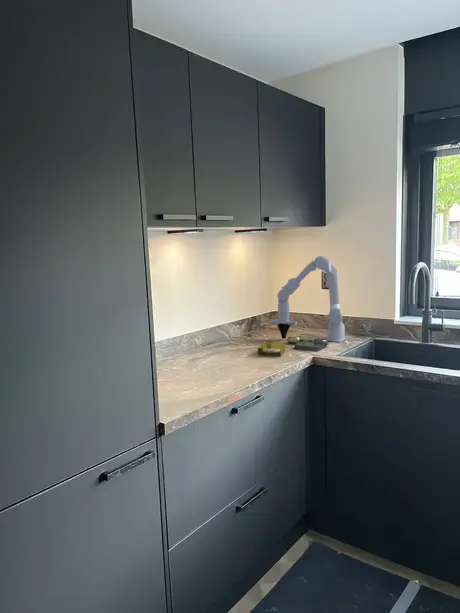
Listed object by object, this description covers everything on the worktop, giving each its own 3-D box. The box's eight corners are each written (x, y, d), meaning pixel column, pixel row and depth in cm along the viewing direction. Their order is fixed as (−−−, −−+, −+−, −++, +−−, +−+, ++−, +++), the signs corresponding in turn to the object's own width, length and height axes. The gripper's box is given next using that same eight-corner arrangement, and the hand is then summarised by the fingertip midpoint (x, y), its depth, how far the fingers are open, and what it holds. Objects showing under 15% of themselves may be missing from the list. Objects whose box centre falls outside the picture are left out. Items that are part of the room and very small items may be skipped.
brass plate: (285, 343, 230) (285, 337, 230) (295, 339, 240) (295, 333, 239) (309, 345, 223) (309, 339, 223) (319, 341, 233) (319, 335, 232)
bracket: (291, 334, 216) (285, 341, 202) (292, 350, 217) (286, 358, 203) (259, 333, 221) (251, 340, 206) (260, 349, 222) (252, 357, 207)
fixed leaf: (294, 348, 218) (294, 341, 218) (304, 344, 228) (304, 337, 228) (320, 351, 211) (320, 344, 211) (329, 346, 221) (329, 339, 220)
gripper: (267, 312, 238) (268, 338, 240) (292, 314, 230) (293, 340, 232) (274, 310, 244) (274, 335, 246) (298, 312, 236) (299, 338, 238)
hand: (284, 338), depth 239 cm, fingers closed
